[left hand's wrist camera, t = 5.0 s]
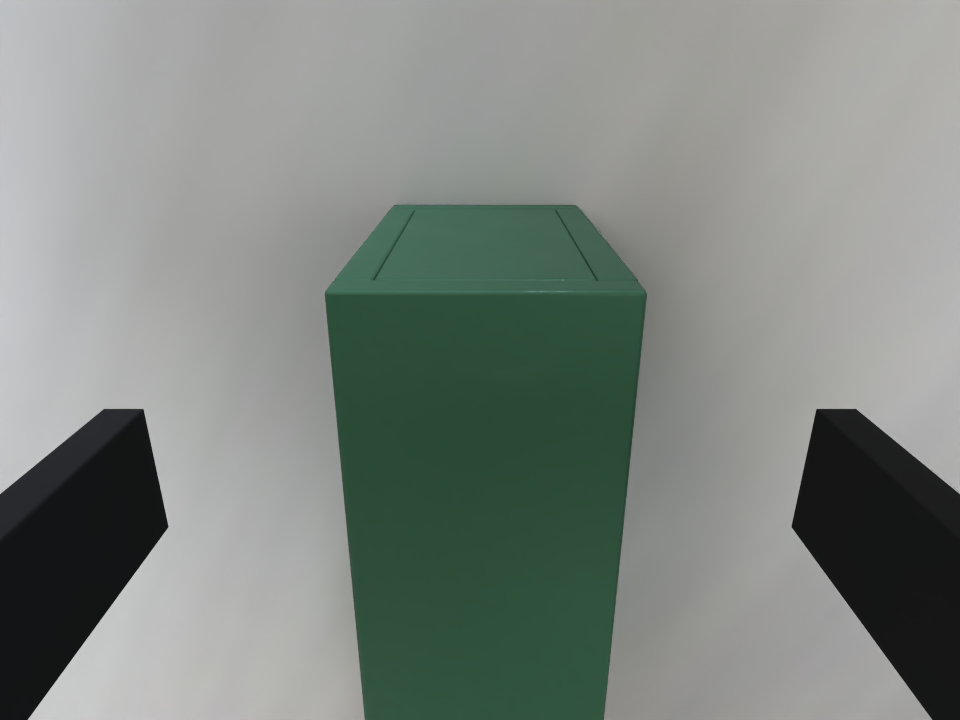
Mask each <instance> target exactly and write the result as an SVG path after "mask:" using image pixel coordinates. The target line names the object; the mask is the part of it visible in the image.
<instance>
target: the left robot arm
mask: <svg viewBox="0 0 960 720" xmlns="http://www.w3.org/2000/svg"><path fill="white" fill-rule="evenodd" d="M167 528H168V523H167V518H166V513H165V509H164V504H163V499H162V494H161V490H160V485H159V480H158V476H157V471H156V466H155V461H154V457H153V452H152V447H151V443H150V438H149V433H148V428H147V424H146V419H145V414H144V410H143V409H104V410H102V411H101V412H100V413H99V414H97V415H96V416H95V417H94V418H93V419H91V420H90V421H89V422H88V423H87V424H85V425H84V426H83V427H82V428H80V429H79V430H78V431H77V432H76V433H74V434H73V435H72V436H71V437H69V438H68V439H67V440H66V441H65V442H63V443H62V444H61V445H60V446H58V447H57V448H56V449H55V450H54V451H52V452H51V453H50V454H49V455H48V456H46V457H45V458H44V459H43V460H41V461H40V462H39V463H38V464H37V465H35V466H34V467H33V468H32V469H30V470H29V471H28V472H27V473H26V474H24V475H23V476H22V477H21V478H19V479H18V480H17V481H16V482H15V483H13V484H12V485H11V486H10V487H9V488H7V489H6V490H5V491H4V492H2V493H1V494H0V720H28V718H29V717H30V716H31V714H32V713H33V712H34V710H35V709H36V708H37V706H38V705H39V703H40V702H41V701H42V699H43V698H44V697H45V695H46V694H47V692H48V691H49V690H50V688H51V687H52V686H53V684H54V683H55V682H56V680H57V679H58V677H59V676H60V675H61V673H62V672H63V671H64V669H65V668H66V666H67V665H68V664H69V662H70V661H71V660H72V658H73V657H74V656H75V654H76V653H77V651H78V650H79V649H80V647H81V646H82V645H83V643H84V642H85V640H86V639H87V638H88V636H89V635H90V634H91V632H92V631H93V630H94V628H95V627H96V625H97V624H98V623H99V621H100V620H101V619H102V617H103V616H104V614H105V613H106V612H107V610H108V609H109V608H110V606H111V605H112V604H113V602H114V601H115V599H116V598H117V597H118V595H119V594H120V593H121V591H122V590H123V588H124V587H125V586H126V584H127V583H128V582H129V580H130V579H131V578H132V576H133V575H134V573H135V572H136V571H137V569H138V568H139V567H140V565H141V564H142V563H143V561H144V560H145V558H146V557H147V556H148V554H149V553H150V552H151V550H152V549H153V547H154V546H155V545H156V543H157V542H158V541H159V539H160V538H161V537H162V535H163V534H164V532H165V531H166V530H167ZM792 528H793V530H794V531H795V532H796V534H797V535H798V537H799V538H800V539H801V541H802V542H803V543H804V545H805V546H806V547H807V549H808V550H809V552H810V553H811V554H812V556H813V557H814V558H815V560H816V561H817V563H818V564H819V565H820V567H821V568H822V569H823V571H824V572H825V573H826V575H827V576H828V578H829V579H830V580H831V582H832V583H833V584H834V586H835V587H836V589H837V590H838V591H839V593H840V594H841V595H842V597H843V598H844V599H845V601H846V602H847V604H848V605H849V606H850V608H851V609H852V610H853V612H854V613H855V614H856V616H857V617H858V619H859V620H860V621H861V623H862V624H863V625H864V627H865V628H866V630H867V631H868V632H869V634H870V635H871V636H872V638H873V639H874V640H875V642H876V643H877V645H878V646H879V647H880V649H881V650H882V651H883V653H884V654H885V656H886V657H887V658H888V660H889V661H890V662H891V664H892V665H893V666H894V668H895V669H896V671H897V672H898V673H899V675H900V676H901V677H902V679H903V680H904V682H905V683H906V684H907V686H908V687H909V688H910V690H911V691H912V692H913V694H914V695H915V697H916V698H917V699H918V701H919V702H920V703H921V705H922V706H923V708H924V709H925V710H926V712H927V713H928V714H929V716H930V717H931V718H932V720H960V494H959V493H958V492H956V491H955V490H954V489H953V488H951V487H950V486H949V485H948V484H947V483H945V482H944V481H943V480H942V479H941V478H939V477H938V476H937V475H936V474H934V473H933V472H932V471H931V470H930V469H928V468H927V467H926V466H925V465H923V464H922V463H921V462H920V461H919V460H917V459H916V458H915V457H914V456H912V455H911V454H910V453H909V452H908V451H906V450H905V449H904V448H903V447H902V446H900V445H899V444H898V443H897V442H895V441H894V440H893V439H892V438H891V437H889V436H888V435H887V434H886V433H884V432H883V431H882V430H881V429H880V428H878V427H877V426H876V425H875V424H873V423H872V422H871V421H870V420H869V419H867V418H866V417H865V416H864V415H863V414H861V413H860V412H859V411H858V410H856V409H817V410H816V414H815V419H814V424H813V428H812V433H811V438H810V443H809V447H808V452H807V457H806V461H805V466H804V471H803V476H802V480H801V485H800V490H799V494H798V499H797V504H796V509H795V513H794V518H793V523H792Z"/></svg>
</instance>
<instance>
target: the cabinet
mask: <svg viewBox="0 0 960 720" xmlns="http://www.w3.org/2000/svg"><path fill="white" fill-rule="evenodd" d="M646 297H647V294H646V291H645V290H644V288H643V287H642V286H641V285H640V284H639V282H638V280H637V278H636V277H635V276H634V275H633V273H632V272H631V271H630V270H629V268H628V267H627V266H626V265H625V264H624V262H623V261H622V260H621V259H620V257H619V256H618V255H617V254H616V252H615V251H614V250H613V249H612V248H611V246H610V245H609V244H608V243H607V241H606V240H605V239H604V238H603V237H602V235H601V234H600V233H599V232H598V230H597V229H596V228H595V227H594V225H593V224H592V223H591V222H590V221H589V219H588V218H587V217H586V216H585V214H584V213H583V212H582V211H581V210H580V209H579V208H578V207H577V206H575V205H395V206H393V207H392V208H391V210H390V211H389V212H388V213H387V215H386V216H385V217H384V218H383V220H382V221H381V222H380V223H379V225H378V226H377V227H376V228H375V230H374V231H373V232H372V233H371V235H370V236H369V237H368V238H367V240H366V241H365V242H364V243H363V245H362V246H361V247H360V249H359V250H358V251H357V252H356V254H355V255H354V256H353V257H352V259H351V260H350V261H349V262H348V264H347V265H346V266H345V267H344V269H343V270H342V271H341V272H340V274H339V275H338V276H337V277H336V279H335V281H334V282H332V284H331V285H330V286H329V287H328V289H327V290H326V292H325V301H326V312H327V322H328V333H329V343H330V354H331V365H332V375H333V386H334V396H335V407H336V418H337V428H338V439H339V450H340V460H341V471H342V481H343V492H344V503H345V513H346V524H347V534H348V545H349V556H350V566H351V577H352V587H353V598H354V609H355V619H356V630H357V640H358V651H359V662H360V672H361V683H362V694H363V704H364V715H365V720H604V712H605V702H606V692H607V682H608V672H609V662H610V653H611V643H612V633H613V623H614V613H615V603H616V593H617V583H618V574H619V564H620V554H621V544H622V534H623V524H624V514H625V505H626V495H627V485H628V475H629V465H630V455H631V445H632V435H633V426H634V416H635V406H636V396H637V386H638V376H639V366H640V356H641V347H642V337H643V327H644V317H645V307H646Z"/></svg>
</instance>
